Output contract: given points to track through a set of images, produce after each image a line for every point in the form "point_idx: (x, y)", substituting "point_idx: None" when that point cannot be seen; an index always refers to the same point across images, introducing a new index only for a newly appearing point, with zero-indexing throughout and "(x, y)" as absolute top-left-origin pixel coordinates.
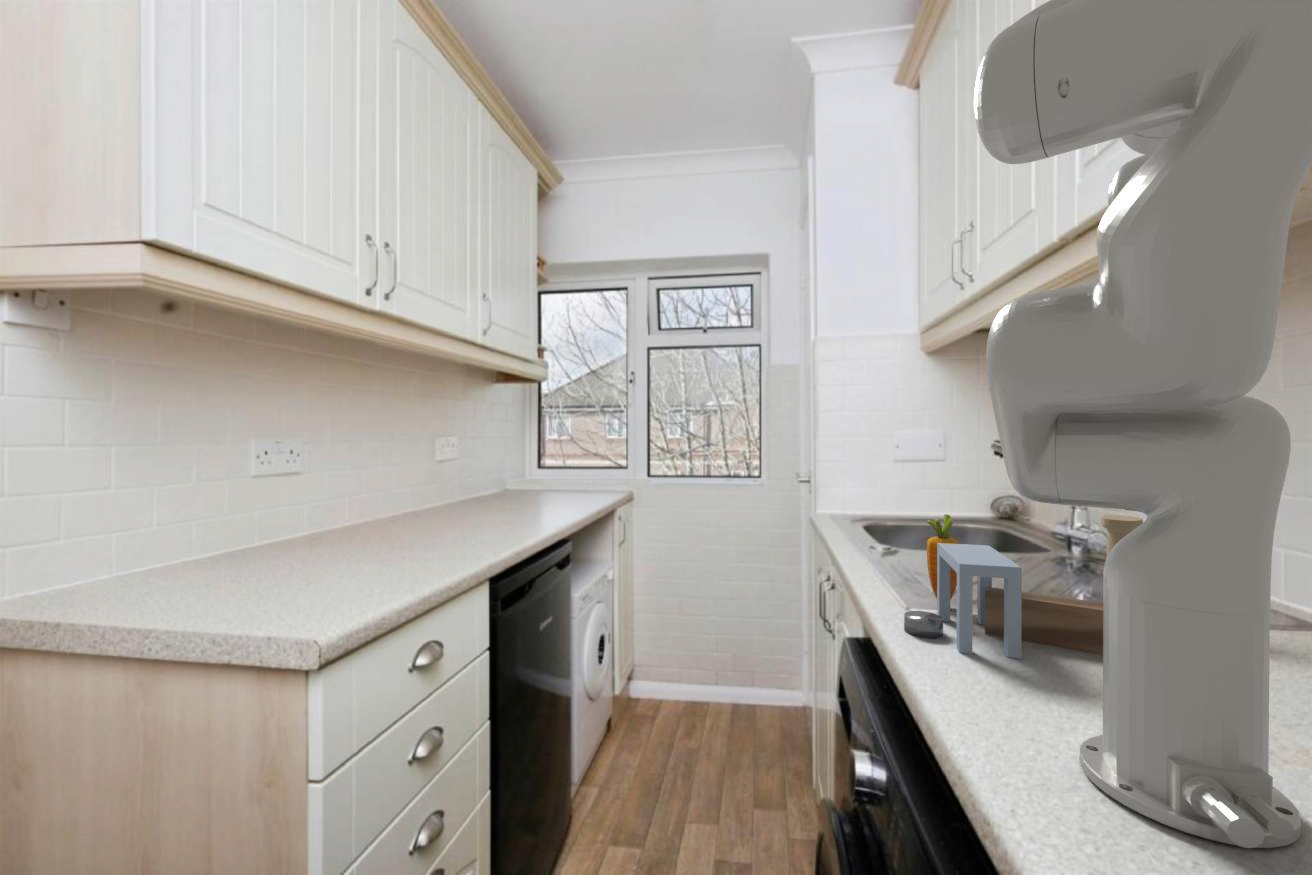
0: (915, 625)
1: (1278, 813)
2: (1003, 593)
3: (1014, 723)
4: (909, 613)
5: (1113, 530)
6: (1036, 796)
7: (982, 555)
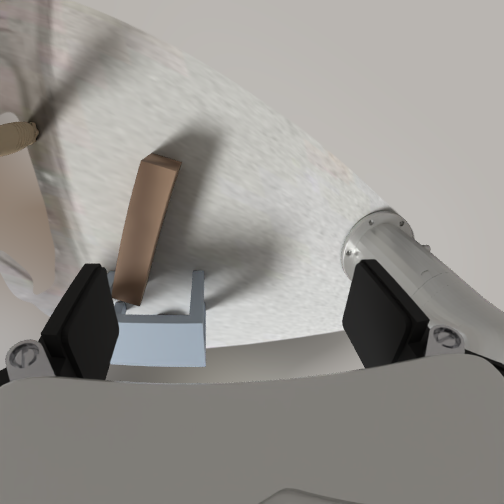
0: None
1: (427, 249)
2: (132, 290)
3: (319, 301)
4: None
5: None
6: None
7: (150, 341)
